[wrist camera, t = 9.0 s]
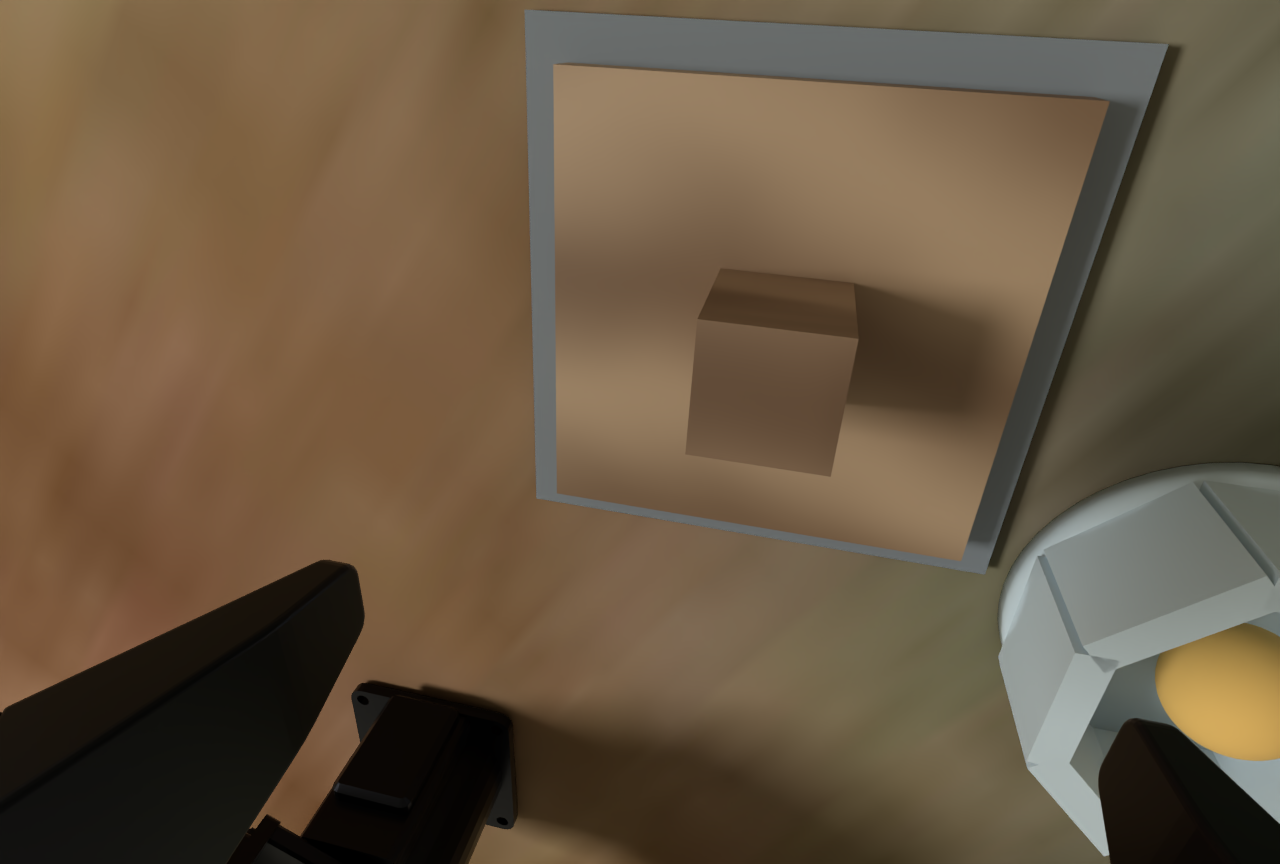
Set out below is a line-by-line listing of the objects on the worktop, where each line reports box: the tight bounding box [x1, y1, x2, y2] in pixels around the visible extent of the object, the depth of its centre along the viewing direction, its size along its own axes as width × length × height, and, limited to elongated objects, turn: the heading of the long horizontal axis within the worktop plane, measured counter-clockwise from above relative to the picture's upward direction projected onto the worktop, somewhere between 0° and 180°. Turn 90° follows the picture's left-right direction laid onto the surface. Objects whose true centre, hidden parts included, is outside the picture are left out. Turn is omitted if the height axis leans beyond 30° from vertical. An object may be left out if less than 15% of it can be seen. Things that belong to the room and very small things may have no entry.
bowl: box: [998, 463, 1280, 856], centre depth 18 cm, size 10×10×4 cm
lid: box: [553, 62, 1110, 561], centre depth 17 cm, size 11×11×4 cm
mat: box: [525, 10, 1169, 574], centre depth 19 cm, size 13×13×1 cm
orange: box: [1155, 623, 1280, 761], centre depth 18 cm, size 3×3×3 cm
